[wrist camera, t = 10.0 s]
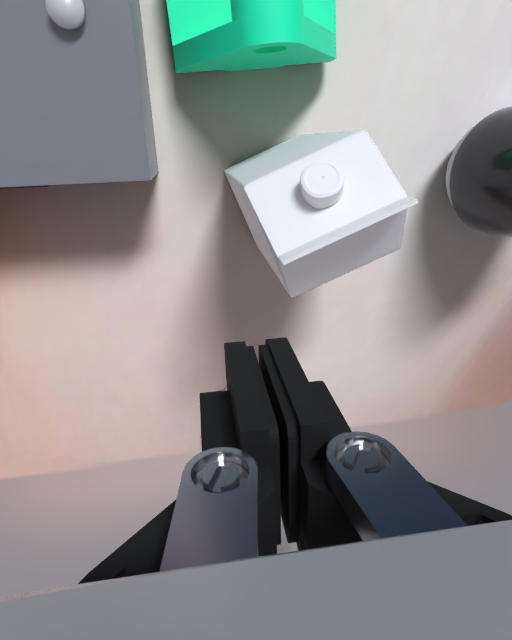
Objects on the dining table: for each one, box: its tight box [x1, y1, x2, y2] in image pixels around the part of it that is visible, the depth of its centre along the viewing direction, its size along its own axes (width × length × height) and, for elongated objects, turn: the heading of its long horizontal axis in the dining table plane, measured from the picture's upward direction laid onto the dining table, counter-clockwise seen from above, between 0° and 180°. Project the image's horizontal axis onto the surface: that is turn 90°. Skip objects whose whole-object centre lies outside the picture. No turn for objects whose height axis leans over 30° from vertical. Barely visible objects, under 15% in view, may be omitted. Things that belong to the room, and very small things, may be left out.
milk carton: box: [224, 130, 418, 298], centre depth 30 cm, size 7×7×19 cm
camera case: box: [0, 0, 158, 189], centre depth 29 cm, size 12×18×9 cm
